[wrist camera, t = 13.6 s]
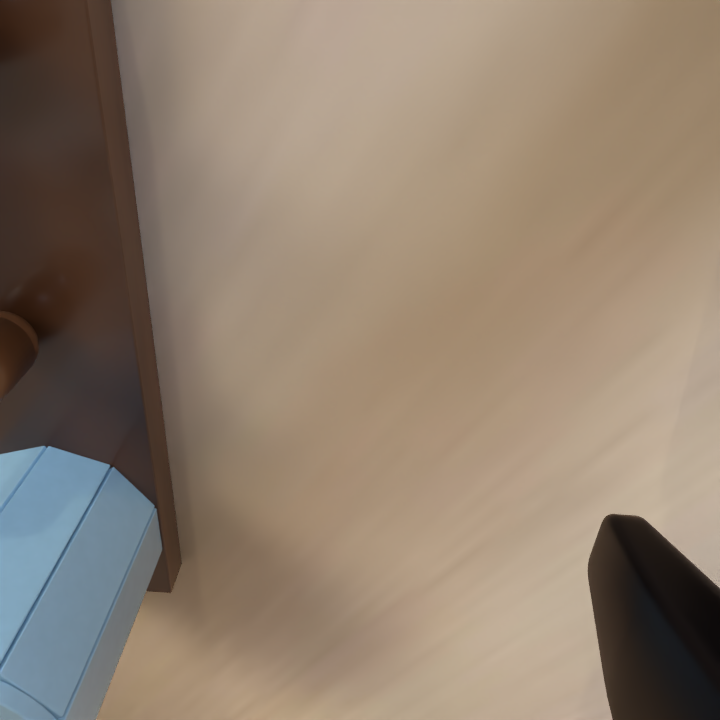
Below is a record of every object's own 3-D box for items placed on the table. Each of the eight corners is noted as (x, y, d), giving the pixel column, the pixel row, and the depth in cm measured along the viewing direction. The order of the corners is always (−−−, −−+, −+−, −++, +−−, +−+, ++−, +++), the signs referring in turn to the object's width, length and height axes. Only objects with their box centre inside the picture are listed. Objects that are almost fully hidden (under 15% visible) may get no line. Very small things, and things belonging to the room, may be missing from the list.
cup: (148, 452, 22) (36, 680, 15) (169, 593, 25) (86, 826, 19) (-55, 437, 22) (-261, 657, 15) (-5, 580, 25) (-150, 807, 19)
